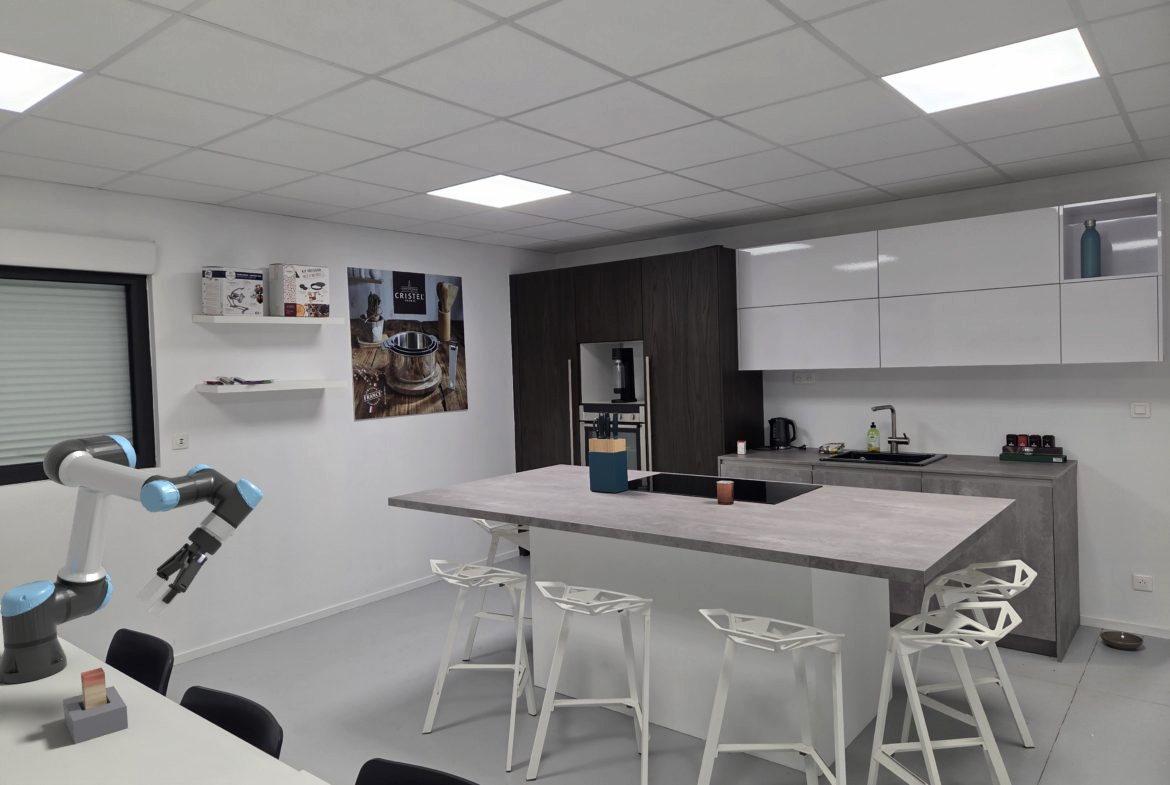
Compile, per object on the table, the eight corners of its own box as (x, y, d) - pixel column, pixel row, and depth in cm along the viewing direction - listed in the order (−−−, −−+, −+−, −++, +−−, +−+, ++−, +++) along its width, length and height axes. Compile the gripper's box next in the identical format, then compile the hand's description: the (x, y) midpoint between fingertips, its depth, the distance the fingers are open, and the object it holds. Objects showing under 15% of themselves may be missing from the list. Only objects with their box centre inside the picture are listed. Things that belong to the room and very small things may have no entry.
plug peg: (84, 724, 172) (80, 672, 171) (104, 718, 175) (101, 667, 174) (87, 730, 169) (83, 677, 168) (108, 724, 172) (104, 672, 171)
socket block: (64, 720, 174) (63, 699, 174) (114, 706, 181) (113, 685, 180) (74, 744, 163) (73, 721, 163) (128, 727, 169) (126, 706, 169)
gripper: (237, 552, 183) (171, 628, 174) (209, 534, 202) (148, 602, 193) (213, 534, 180) (144, 611, 171) (186, 518, 198) (123, 586, 189)
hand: (146, 606), depth 182 cm, fingers open, 13 cm apart
